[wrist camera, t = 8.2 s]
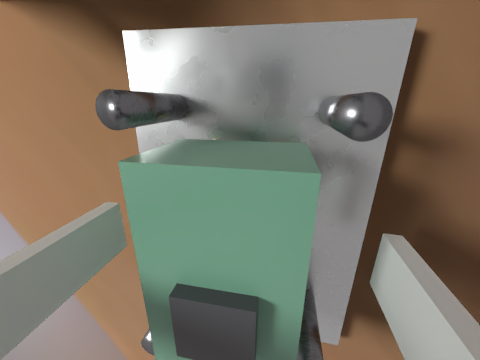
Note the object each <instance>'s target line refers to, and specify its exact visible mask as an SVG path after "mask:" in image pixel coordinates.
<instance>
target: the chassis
mask: <svg viewBox="0 0 480 360" xmlns="http://www.w3.org/2000/svg"><path fill="white" fill-rule="evenodd" d="M416 22H417V18H407V19H384V20H361V21H338V22H315V23H292V24H269V25H246V26H223V27H200V28H177V29H154V30H131V31H122V32H123V39H124V46H125V54H126V61H127V68H128V75H129V82H130V89H131V91H126V90H111V89H108V90H104V91H102V92H101V93H100V94H99V95H98V97H97V99H96V112H97V115H98V117H99V119H100V120H101V122H102V123H103V124H104V125H105V126H106V127H108V128H110V129H112V130H122V129H128V128H134V127H136V132H137V139H138V147H139V154H141V153H144V152H146V151H149V150H152V149H155V148H158V147H160V146H163V145H166V144H169V143H172V142H174V141H177V140H180V139H200V140H228V141H256V142H284V143H307V145H308V147H309V149H310V151H311V153H312V155H313V157H314V160H315V162H316V164H317V166H318V168H319V170H320V172H321V180H320V187H319V195H318V202H317V210H316V217H315V225H314V233H313V240H312V248H311V255H310V263H309V270H308V278H307V286H306V293H305V301H304V308H303V316H302V323H301V331H300V338H299V346H298V354H297V360H323V354H322V347H321V342H324V343H329V344H334V345H338V343H339V338H340V334H341V330H342V326H343V322H344V318H345V314H346V310H347V306H348V301H349V297H350V293H351V289H352V285H353V281H354V277H355V273H356V269H357V264H358V260H359V256H360V252H361V248H362V244H363V240H364V236H365V232H366V227H367V223H368V219H369V215H370V211H371V207H372V203H373V199H374V195H375V190H376V186H377V182H378V178H379V174H380V170H381V166H382V162H383V158H384V153H385V149H386V145H387V141H388V137H389V133H390V129H391V125H392V121H393V116H394V112H395V108H396V104H397V100H398V96H399V92H400V88H401V84H402V79H403V75H404V71H405V67H406V63H407V59H408V55H409V51H410V47H411V42H412V38H413V34H414V30H415V26H416ZM141 344H142V347H143V348H144V349H145V350H146V351H147V352H148V353H150V354H152V355H155V354H154V349H153V344H152V338H151V333H150V328H149V330H148V331H147V333H146V335H145V336H144V338H143V339H142V342H141Z"/></svg>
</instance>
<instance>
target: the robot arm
mask: <svg viewBox="0 0 480 360" xmlns="http://www.w3.org/2000/svg"><path fill="white" fill-rule="evenodd" d="M126 246H127V244H126V238H125V233H124V228H123V222H122V217H121V212H120V206H119V203H112V202H106V203H104V204H102V205H100V206H98V207H97V208H95V209H93V210H91V211H89V212H88V213H86V214H84V215H82V216H80V217H79V218H77V219H75V220H73V221H72V222H70V223H68V224H66V225H64V226H63V227H61V228H59V229H57V230H55V231H54V232H52V233H50V234H48V235H46V236H45V237H43V238H41V239H39V240H37V241H36V242H34V243H32V244H30V245H28V246H27V247H25V248H23V249H21V250H20V251H18V252H16V253H14V254H12V255H11V256H9V257H7V258H5V259H3V260H2V261H0V360H1V359H2V358H3V357H4V356H5V355H6V354H8V353H9V352H10V351H11V350H12V349H13V348H14V347H15V346H17V345H18V344H19V343H20V342H21V341H22V340H23V339H24V338H25V337H26V336H28V335H29V334H30V333H31V332H32V331H33V330H34V329H35V328H36V327H38V326H39V325H40V324H41V323H42V322H43V321H44V320H45V319H46V318H48V316H50V315H51V314H52V313H53V312H54V311H55V310H56V309H57V308H59V307H60V306H61V305H62V304H63V303H64V302H65V301H66V300H67V299H69V298H70V297H71V296H72V295H73V294H74V293H75V292H76V291H77V290H79V289H80V288H81V287H82V286H83V285H84V284H85V283H86V282H87V281H88V280H90V279H91V278H92V277H93V276H94V275H95V274H96V273H97V272H98V271H100V270H101V269H102V268H103V267H104V266H105V265H106V264H107V263H108V262H110V261H111V260H112V259H113V258H114V257H115V256H116V255H117V254H118V253H119V252H121V251H122V250H123V249H124V248H125V247H126ZM370 285H371V287H372V289H373V291H374V294H375V296H376V298H377V300H378V302H379V305H380V307H381V309H382V311H383V313H384V315H385V318H386V320H387V322H388V324H389V326H390V329H391V331H392V333H393V335H394V337H395V340H396V342H397V344H398V346H399V348H400V351H401V353H402V355H403V357H404V359H405V360H480V324H479V323H477V321H476V320H475V319H474V318H473V317H472V316H471V314H470V313H469V312H468V311H467V310H466V309H465V307H464V306H463V305H462V304H461V303H460V302H459V301H458V299H457V298H456V297H455V296H454V295H453V294H452V292H451V291H450V290H449V289H448V288H447V287H446V285H445V284H444V283H443V282H442V281H441V280H440V279H439V277H438V276H437V275H436V274H435V273H434V272H433V270H432V269H431V268H430V267H429V266H428V265H427V263H426V262H425V261H424V260H423V259H422V258H421V257H420V255H419V254H418V253H417V252H416V251H415V250H414V248H413V247H412V246H411V245H410V244H409V243H408V241H407V240H406V239H405V238H404V237H403V236H401V235H393V234H384V233H383V235H382V239H381V243H380V246H379V250H378V254H377V257H376V261H375V264H374V268H373V272H372V275H371V279H370Z"/></svg>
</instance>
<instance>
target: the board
mask: <svg viewBox="0 0 480 360" xmlns="http://www.w3.org/2000/svg"><path fill="white" fill-rule="evenodd" d="M118 164H119V169H120V175H121V180H122V185H123V190H124V196H125V201H126V206H127V212H128V217H129V222H130V227H131V233H132V238H133V243H134V249H135V254H136V259H137V264H138V270H139V275H140V280H141V286H142V291H143V296H144V301H145V307H146V312H147V317H148V323H149V328H150V333H151V338H152V344H153V349H154V354H155V360H297V354H298V346H299V338H300V331H301V323H302V316H303V308H304V301H305V293H306V286H307V278H308V270H309V263H310V255H311V248H312V240H313V233H314V225H315V217H316V210H317V202H318V195H319V187H320V180H321V172H320V170H319V168H318V166H317V164H316V162H315V160H314V157H313V155H312V153H311V151H310V149H309V147H308V145H307V143H284V142H256V141H228V140H200V139H180V140H177V141H174V142H172V143H169V144H166V145H163V146H160V147H158V148H155V149H152V150H149V151H146V152H144V153H141V154H138V155H135V156H132V157H130V158H127V159H124V160H121V161H118Z"/></svg>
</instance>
